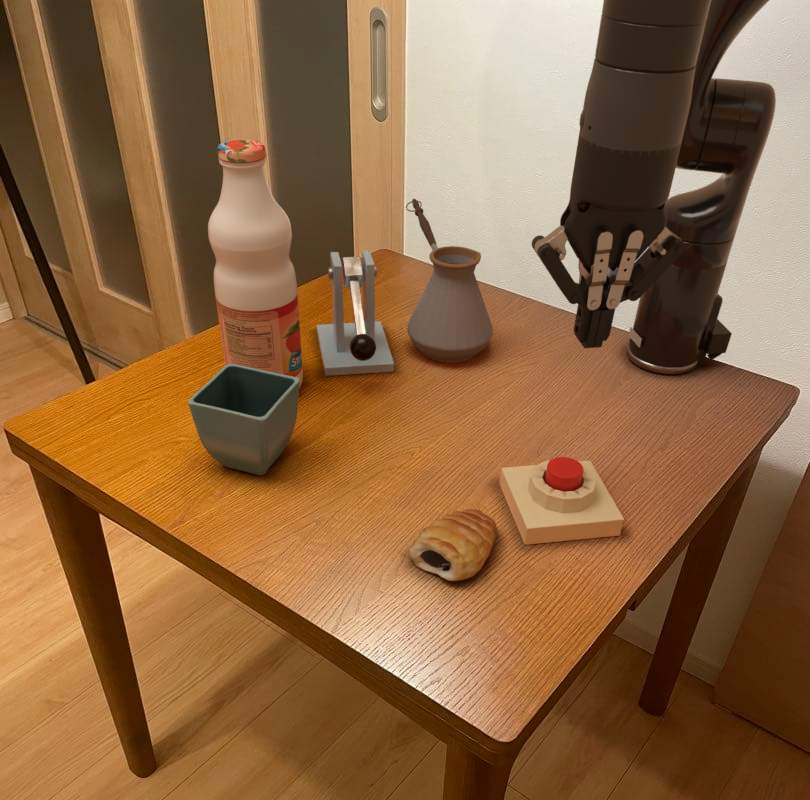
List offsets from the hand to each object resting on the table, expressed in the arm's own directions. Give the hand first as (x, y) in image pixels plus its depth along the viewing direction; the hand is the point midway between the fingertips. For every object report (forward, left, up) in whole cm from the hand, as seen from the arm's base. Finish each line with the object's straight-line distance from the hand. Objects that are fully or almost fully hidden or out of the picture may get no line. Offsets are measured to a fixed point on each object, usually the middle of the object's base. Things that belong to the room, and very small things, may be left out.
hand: (589, 343), depth 71 cm
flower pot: (+31, -13, -19) cm, 39 cm away
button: (0, 0, -15) cm, 15 cm away
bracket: (+17, -36, -19) cm, 44 cm away
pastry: (+12, +5, -19) cm, 23 cm away
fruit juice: (+29, -29, -19) cm, 45 cm away
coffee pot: (+5, -40, -19) cm, 45 cm away
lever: (+17, -32, -12) cm, 38 cm away
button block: (0, 0, -19) cm, 19 cm away
